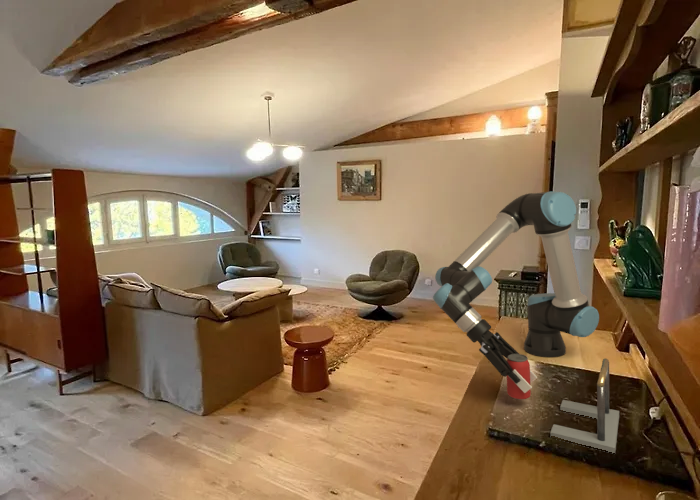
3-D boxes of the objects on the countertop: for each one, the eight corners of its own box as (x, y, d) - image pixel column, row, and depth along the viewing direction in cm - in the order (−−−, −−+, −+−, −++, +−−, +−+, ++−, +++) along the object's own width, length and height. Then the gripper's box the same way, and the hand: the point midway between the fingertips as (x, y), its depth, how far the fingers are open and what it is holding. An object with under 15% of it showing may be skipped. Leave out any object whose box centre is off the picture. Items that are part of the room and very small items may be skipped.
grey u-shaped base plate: (563, 404, 121) (562, 399, 121) (619, 416, 113) (619, 410, 113) (550, 437, 105) (550, 432, 105) (615, 453, 97) (615, 448, 97)
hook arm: (602, 415, 114) (602, 357, 112) (609, 416, 113) (609, 358, 111) (597, 445, 101) (596, 380, 99) (604, 447, 100) (604, 382, 98)
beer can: (531, 401, 118) (530, 362, 117) (507, 399, 121) (505, 360, 119) (530, 391, 125) (528, 353, 123) (507, 389, 127) (505, 352, 126)
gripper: (476, 324, 138) (529, 379, 130) (454, 342, 122) (513, 406, 114) (491, 310, 134) (547, 365, 126) (471, 327, 118) (533, 392, 110)
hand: (531, 384), depth 120 cm, fingers closed on beer can, 7 cm apart
